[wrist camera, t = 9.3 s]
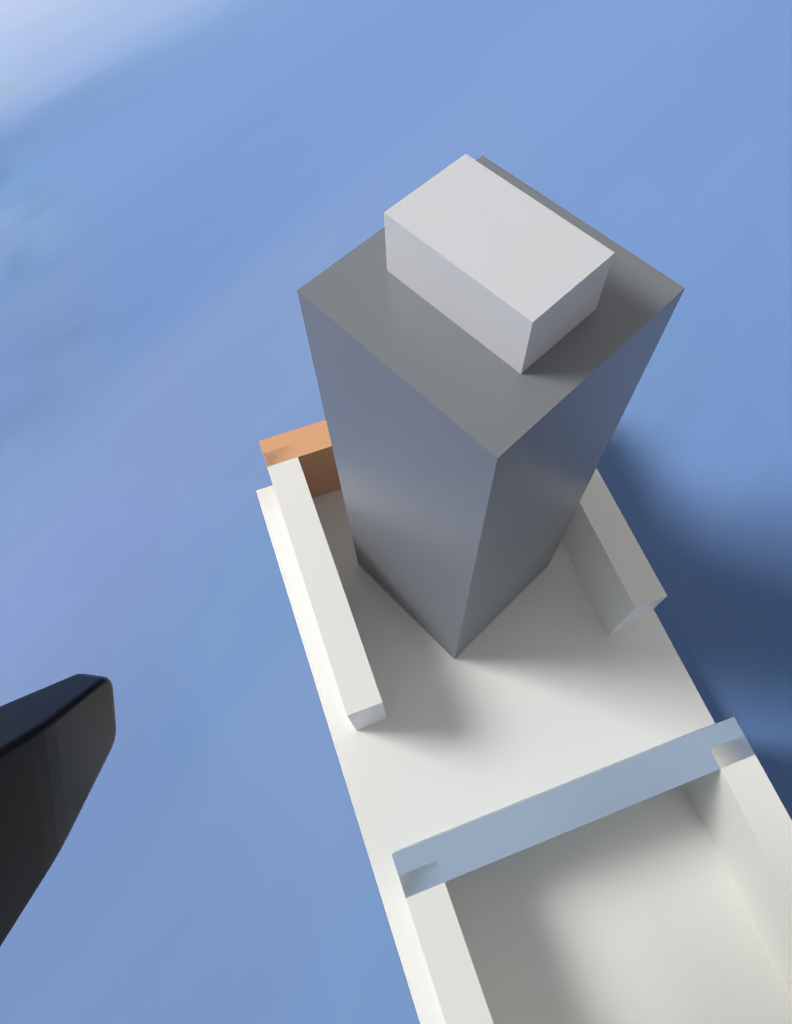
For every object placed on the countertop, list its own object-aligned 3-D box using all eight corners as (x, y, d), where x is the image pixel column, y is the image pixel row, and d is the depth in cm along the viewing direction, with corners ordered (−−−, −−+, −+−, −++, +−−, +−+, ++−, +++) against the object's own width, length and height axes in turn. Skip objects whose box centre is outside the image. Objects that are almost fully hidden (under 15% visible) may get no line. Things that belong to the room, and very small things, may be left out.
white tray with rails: (897, 1087, 18) (1012, 1148, 14) (501, 1280, 16) (524, 1399, 13) (535, 409, 27) (553, 346, 23) (260, 500, 25) (235, 448, 22)
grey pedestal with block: (548, 565, 23) (712, 230, 10) (454, 659, 22) (507, 412, 9) (451, 480, 25) (489, 92, 12) (358, 563, 23) (284, 233, 10)
